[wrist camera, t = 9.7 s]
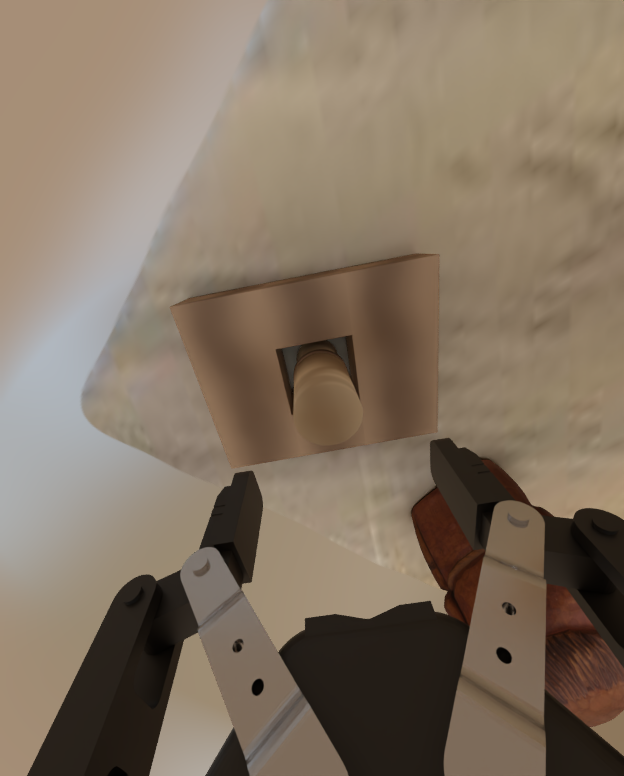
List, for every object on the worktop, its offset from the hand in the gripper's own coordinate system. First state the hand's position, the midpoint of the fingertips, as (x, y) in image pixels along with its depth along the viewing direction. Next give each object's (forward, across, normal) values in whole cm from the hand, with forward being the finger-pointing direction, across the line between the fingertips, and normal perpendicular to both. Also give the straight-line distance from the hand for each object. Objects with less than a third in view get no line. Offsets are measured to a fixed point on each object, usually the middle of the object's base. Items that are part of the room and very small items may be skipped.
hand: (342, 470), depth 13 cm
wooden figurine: (+15, -12, +19) cm, 27 cm away
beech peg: (+14, 0, 0) cm, 14 cm away
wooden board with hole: (+14, 0, 0) cm, 14 cm away
